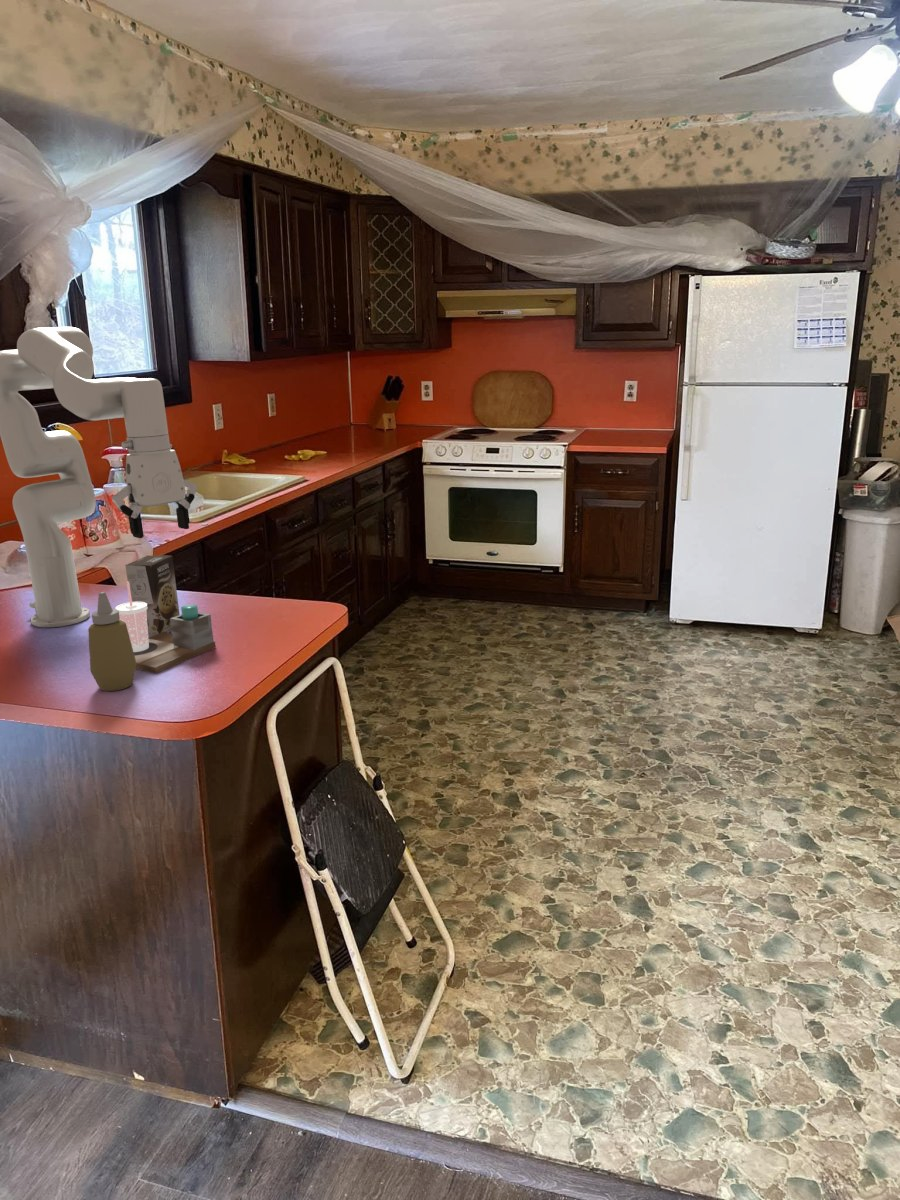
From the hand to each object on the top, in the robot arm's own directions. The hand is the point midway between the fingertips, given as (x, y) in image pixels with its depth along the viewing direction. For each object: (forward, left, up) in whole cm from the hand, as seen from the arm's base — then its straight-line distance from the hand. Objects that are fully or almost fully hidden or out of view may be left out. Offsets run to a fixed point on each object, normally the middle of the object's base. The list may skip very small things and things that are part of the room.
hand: (161, 532), depth 176 cm
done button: (+2, +3, -19) cm, 19 cm away
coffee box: (-14, +8, -25) cm, 30 cm away
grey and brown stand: (-2, -2, -25) cm, 25 cm away
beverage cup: (-6, -5, -24) cm, 25 cm away
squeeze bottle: (+3, -18, -25) cm, 31 cm away
